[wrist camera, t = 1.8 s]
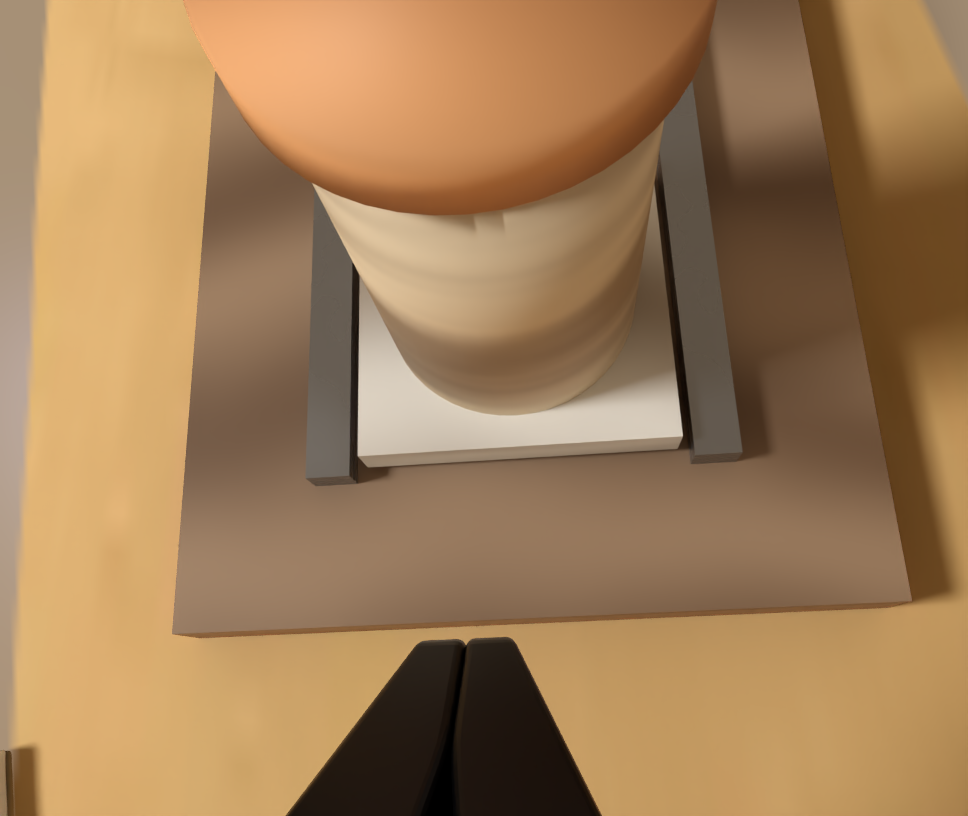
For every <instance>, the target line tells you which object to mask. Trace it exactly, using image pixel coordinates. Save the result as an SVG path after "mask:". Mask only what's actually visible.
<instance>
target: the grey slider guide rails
mask: <svg viewBox="0 0 968 816" xmlns="http://www.w3.org/2000/svg"><path fill="white" fill-rule="evenodd" d="M657 176H658V185H659V194H660V203H661V211H662V220H663V229H664V237H665V246H666V255H667V263H668V272H669V281H670V290H671V298H672V307H673V316H674V324H675V333H676V342H677V350H678V359H679V368H680V376H681V385H682V394H683V403H684V411H685V420H686V429H687V437H688V446H689V455H690V463H691V464H705V463H722V462H736V461H737V460H738V458H739V457H740V455H741V454H742V452H743V451H742V444H741V436H740V429H739V422H738V414H737V407H736V399H735V392H734V385H733V377H732V370H731V362H730V355H729V348H728V340H727V333H726V326H725V318H724V311H723V303H722V296H721V289H720V281H719V274H718V266H717V259H716V252H715V244H714V237H713V230H712V222H711V215H710V207H709V200H708V193H707V185H706V178H705V170H704V163H703V156H702V148H701V141H700V134H699V126H698V119H697V111H696V104H695V97H694V89H693V82H692V81H691V83H690V84H689V86H688V87H687V89H686V90H685V92H684V94H683V95H682V97H681V98H680V100H679V101H678V103H677V105H676V106H675V107H674V108H673V109H672V110H671V112H670V113H669V114H668V115H667V116H666V117H665V119H664V124H663V131H662V137H661V143H660V150H659V156H658V163H657ZM359 294H360V275H359V273H358V271H357V269H356V267H355V265H354V263H353V261H352V259H351V258H350V256H349V254H348V252H347V250H346V248H345V246H344V244H343V242H342V240H341V238H340V236H339V234H338V232H337V230H336V229H335V227H334V225H333V223H332V221H331V219H330V217H329V215H328V213H327V211H326V209H325V207H324V205H323V203H322V202H321V200H320V198H319V196H318V194H317V192H316V190H315V188H314V218H313V250H312V282H311V314H310V347H309V379H308V411H307V443H306V475H305V478H306V479H307V480H308V481H309V482H311V483H312V484H313V485H314V486H330V485H347V484H358V381H359Z"/></svg>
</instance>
